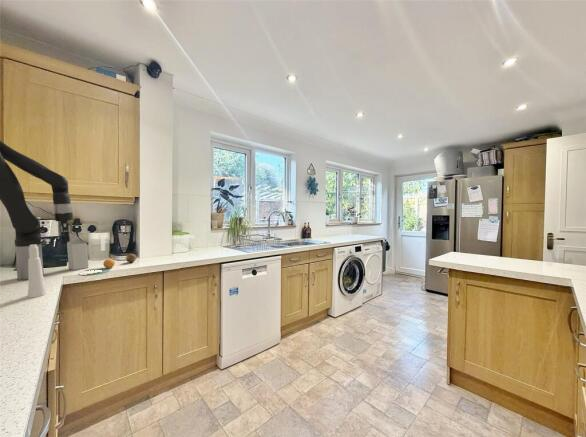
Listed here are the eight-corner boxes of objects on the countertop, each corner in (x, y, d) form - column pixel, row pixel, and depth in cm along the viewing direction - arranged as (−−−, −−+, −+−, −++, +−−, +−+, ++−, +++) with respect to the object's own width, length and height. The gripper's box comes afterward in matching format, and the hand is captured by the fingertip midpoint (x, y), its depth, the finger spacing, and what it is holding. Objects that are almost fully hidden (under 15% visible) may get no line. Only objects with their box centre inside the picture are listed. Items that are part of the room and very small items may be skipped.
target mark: (78, 277, 132) (78, 276, 132) (78, 271, 143) (78, 270, 143) (111, 272, 141) (111, 271, 141) (109, 266, 152) (109, 266, 152)
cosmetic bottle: (51, 292, 111) (47, 243, 109) (37, 297, 105) (33, 246, 103) (37, 292, 111) (32, 243, 109) (22, 297, 105) (18, 246, 103)
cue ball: (126, 263, 159) (126, 255, 158) (125, 262, 163) (125, 253, 162) (136, 262, 162) (136, 254, 162) (135, 260, 166) (135, 252, 166)
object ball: (104, 269, 146) (103, 260, 145) (103, 267, 150) (102, 258, 149) (115, 268, 149) (115, 259, 149) (114, 266, 153) (113, 257, 153)
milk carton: (83, 266, 154) (81, 235, 152) (88, 267, 150) (86, 236, 148) (68, 268, 148) (66, 237, 146) (73, 270, 144) (71, 238, 142)
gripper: (54, 212, 141) (58, 240, 143) (53, 213, 131) (57, 243, 133) (72, 211, 146) (75, 238, 148) (72, 212, 136) (76, 241, 138)
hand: (67, 240), depth 140 cm, fingers open, 8 cm apart
